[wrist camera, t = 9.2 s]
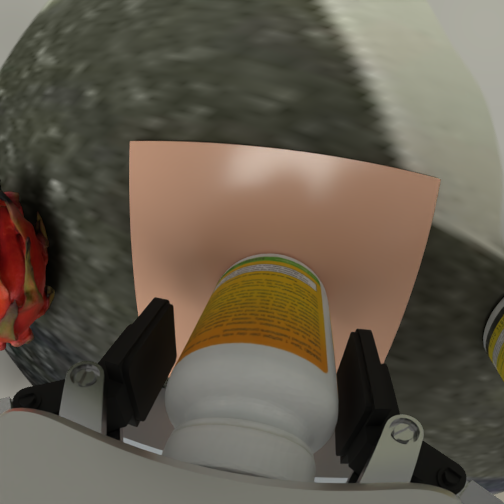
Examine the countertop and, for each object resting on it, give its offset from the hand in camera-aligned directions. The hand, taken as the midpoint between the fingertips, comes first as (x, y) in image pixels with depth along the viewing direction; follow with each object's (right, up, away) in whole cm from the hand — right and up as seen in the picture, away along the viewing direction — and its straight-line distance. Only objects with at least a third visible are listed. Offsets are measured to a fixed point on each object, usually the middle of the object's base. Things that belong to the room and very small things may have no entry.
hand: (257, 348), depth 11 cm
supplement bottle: (+1, +1, +3) cm, 4 cm away
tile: (+1, +2, +4) cm, 4 cm away
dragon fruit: (-16, +4, +6) cm, 17 cm away
